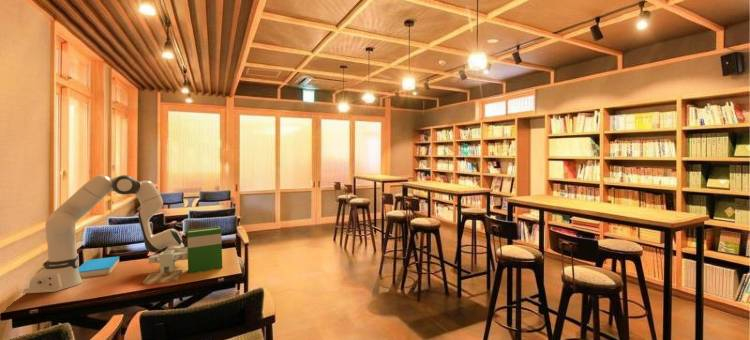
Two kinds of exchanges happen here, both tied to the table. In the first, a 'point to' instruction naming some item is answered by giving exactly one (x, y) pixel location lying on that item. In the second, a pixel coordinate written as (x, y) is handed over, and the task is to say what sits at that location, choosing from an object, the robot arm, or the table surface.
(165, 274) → the post board
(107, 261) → the book
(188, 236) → the hardback book
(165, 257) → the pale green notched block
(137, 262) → the table surface
